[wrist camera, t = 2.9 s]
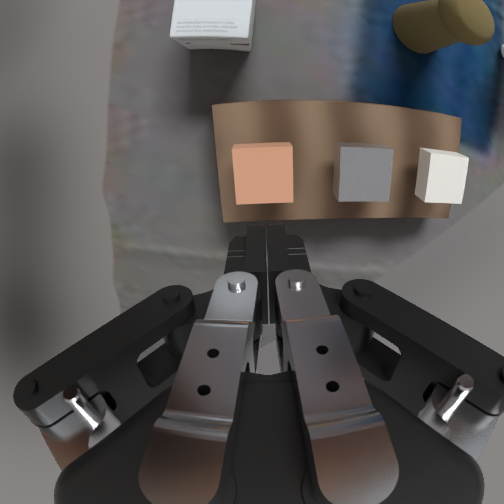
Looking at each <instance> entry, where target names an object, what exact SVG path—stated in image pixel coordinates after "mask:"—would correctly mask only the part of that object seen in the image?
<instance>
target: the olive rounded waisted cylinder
mask: <svg viewBox="0 0 504 504" xmlns="http://www.w3.org/2000/svg"><path fill="white" fill-rule="evenodd" d="M392 23H393V28H394V31H395V33H396V35H397V37H398V38H399V40H400V41H401V42H402V43H403V44H404V45H405V46H406V47H408V48H409V49H410V50H412V51H415V52H417V53H423V54H427V53H430V52H433V51H436V50H438V49H441V48H444V47H446V46H449V45H452V44H455V43H458V42H460V41H461V42H463V43H466V44H471V45H481V44H485V43H487V42H488V41H489V40H490V39H491V38H492V36H493V33H494V21H493V17H492V15H491V12H490V10H489V9H488V7H487V6H486V4H485V3H484V2H483V1H482V0H429V1H422V2H416V3H410V4H405V5H401V6H399V7H398V8H397V9H396V10H395V12H394V14H393V19H392Z"/></svg>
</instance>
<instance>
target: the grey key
mask: <svg viewBox="0 0 504 504" xmlns="http://www.w3.org/2000/svg"><path fill="white" fill-rule="evenodd" d="M393 153H394V149H392V148H390V147H388V146H386V145H384V144H368V143H346V142H334V181H333V194H334V195H335V197H336V198H337V200H338V202H345V201H376V202H389V196H390V187H391V177H392V166H393Z"/></svg>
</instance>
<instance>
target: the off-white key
mask: <svg viewBox="0 0 504 504" xmlns="http://www.w3.org/2000/svg"><path fill="white" fill-rule="evenodd" d="M468 161H469V158H468V157H466V156H464V155H461V154H459V153H457V152H451V151H444V150H436V149H428V148H420V152H419V163H418V172H417V180H416V188H415V195H416V196H417V197H419V198H420V199H421V200H422V201H423V202H429V203H455V204H461V203H462V198H463V193H464V187H465V181H466V175H467V168H468Z"/></svg>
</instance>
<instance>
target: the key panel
mask: <svg viewBox="0 0 504 504" xmlns="http://www.w3.org/2000/svg"><path fill="white" fill-rule="evenodd" d="M212 113H213V124H214V135H215V146H216V157H217V167H218V177H219V187H220V196H221V206H222V215H223V222H245V221H269V220H299V219H339V218H448V216H449V212H450V207H451V203H429V202H423V201H422V200H421V199H420V198H419V197H417V196H416V195H415V188H416V180H417V172H418V163H419V152H420V148H428V149H436V150H444V151H451V152H457V153H459V145H460V134H461V119H462V118H458V117H454V116H450V115H446V114H442V113H437V112H432V111H426V110H420V109H414V108H407V107H400V106H392V105H384V104H374V103H363V102H349V101H331V100H262V101H243V102H230V103H218V104H214V105H212ZM273 142H290V143H291V145H292V146H293V202H290V203H261V204H239V205H236V195H235V183H234V171H233V159H232V148H233V146H234V144H250V143H273ZM334 142H346V143H368V144H384V145H386V146H388V147H390V148H392V149H394V153H393V166H392V177H391V187H390V196H389V202H376V201H345V202H338V200H337V198H336V197H335V195H334V194H333V181H334Z"/></svg>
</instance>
